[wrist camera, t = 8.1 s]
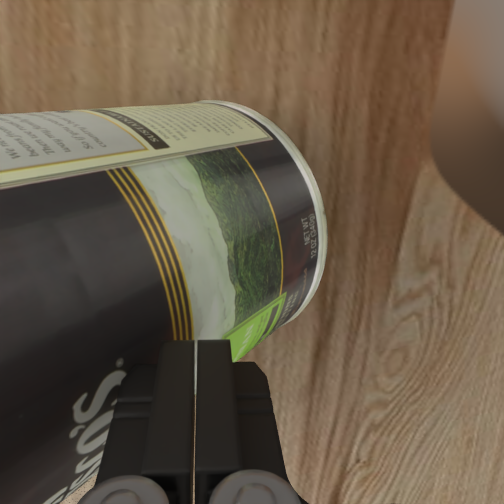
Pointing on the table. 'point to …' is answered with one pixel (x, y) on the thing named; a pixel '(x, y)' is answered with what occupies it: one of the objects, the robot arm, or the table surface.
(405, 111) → the table surface
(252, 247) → the coffee can
